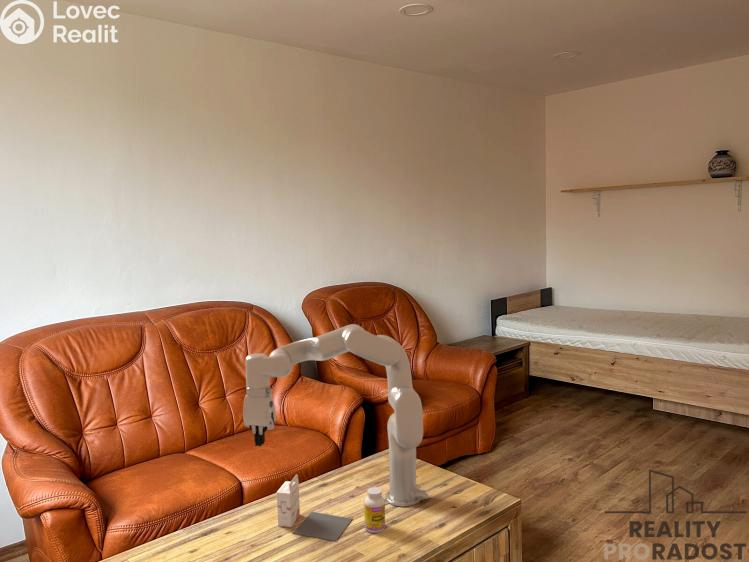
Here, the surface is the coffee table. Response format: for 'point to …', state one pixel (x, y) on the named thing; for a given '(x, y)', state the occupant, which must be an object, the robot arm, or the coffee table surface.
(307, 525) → the mat
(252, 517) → the coffee table surface
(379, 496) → the supplement bottle
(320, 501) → the coffee table surface
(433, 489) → the coffee table surface
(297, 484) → the ink cartridge box
